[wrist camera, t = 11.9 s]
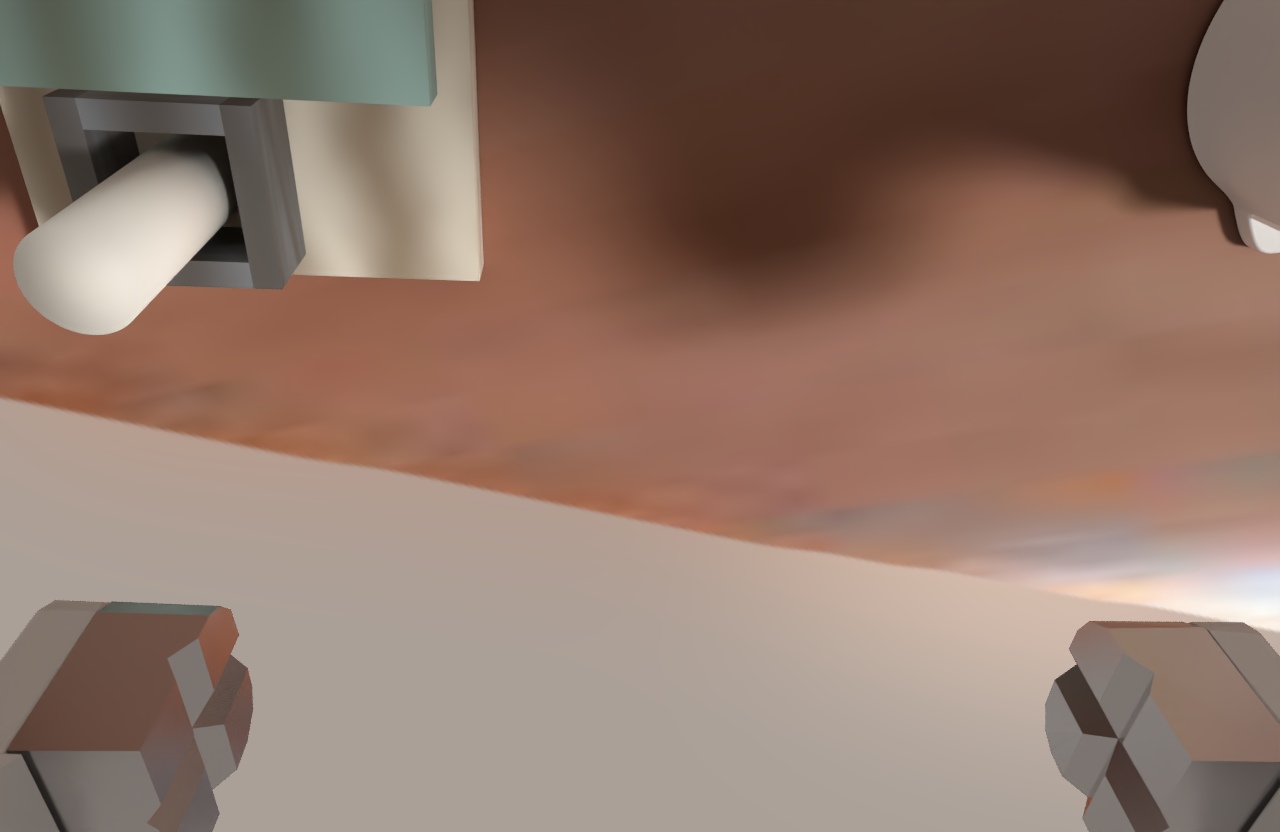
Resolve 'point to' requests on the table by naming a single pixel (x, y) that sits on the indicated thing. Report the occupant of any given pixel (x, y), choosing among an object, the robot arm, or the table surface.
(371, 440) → the table surface
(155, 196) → the peg
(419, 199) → the canopy socket
